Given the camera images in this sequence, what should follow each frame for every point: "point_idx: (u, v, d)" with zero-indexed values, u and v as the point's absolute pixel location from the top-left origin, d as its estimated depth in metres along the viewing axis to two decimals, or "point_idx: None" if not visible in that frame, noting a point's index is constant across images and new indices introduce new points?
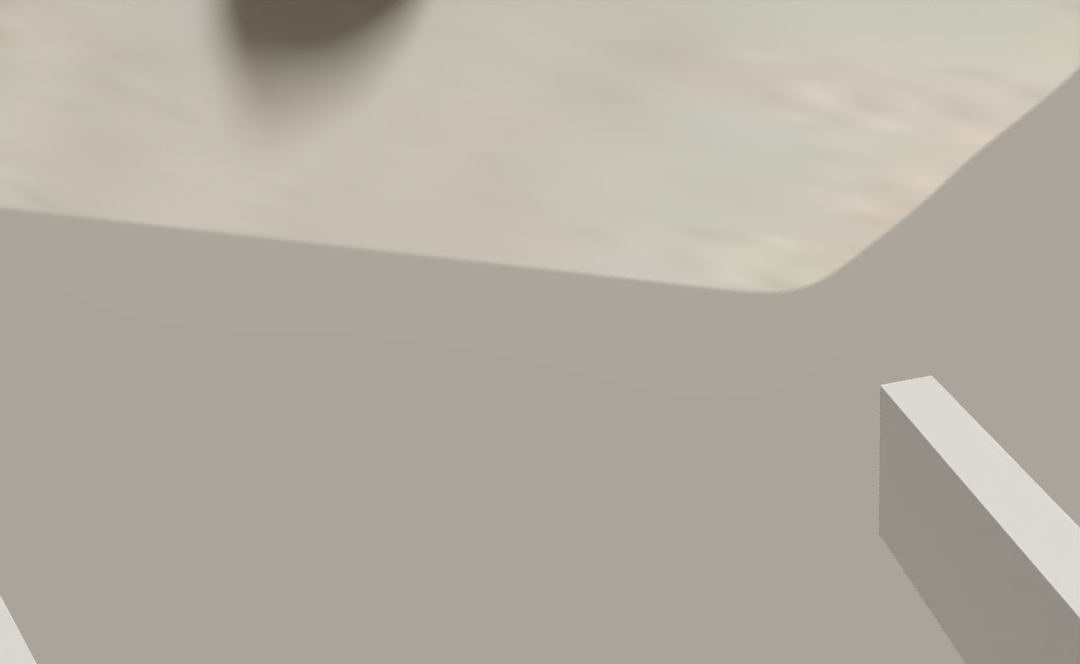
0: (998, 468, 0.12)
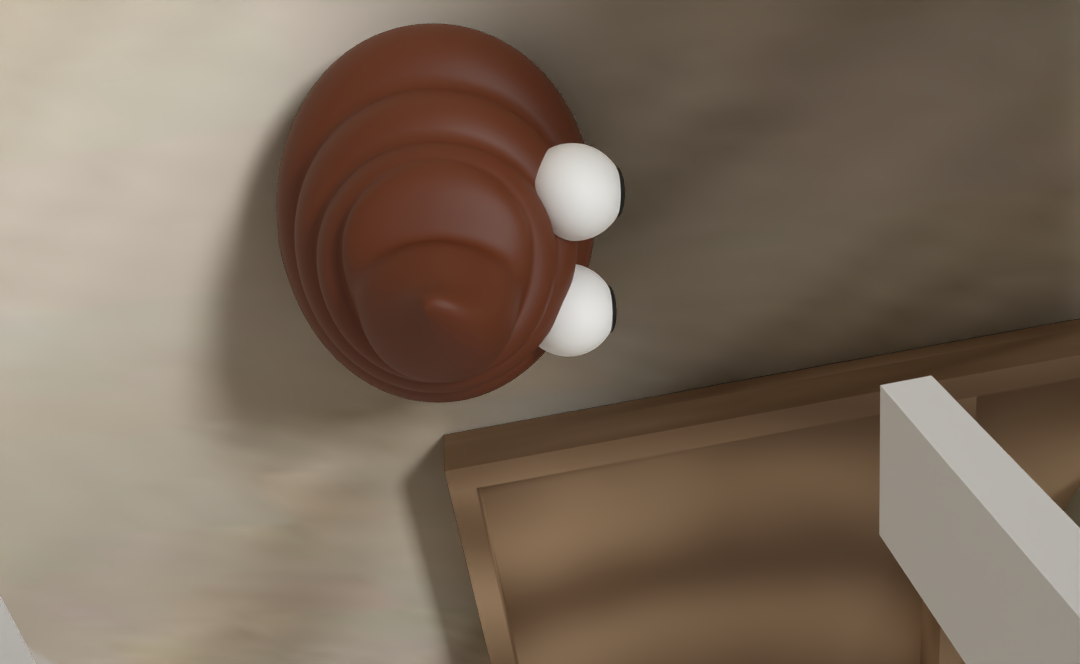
0: (998, 468, 0.12)
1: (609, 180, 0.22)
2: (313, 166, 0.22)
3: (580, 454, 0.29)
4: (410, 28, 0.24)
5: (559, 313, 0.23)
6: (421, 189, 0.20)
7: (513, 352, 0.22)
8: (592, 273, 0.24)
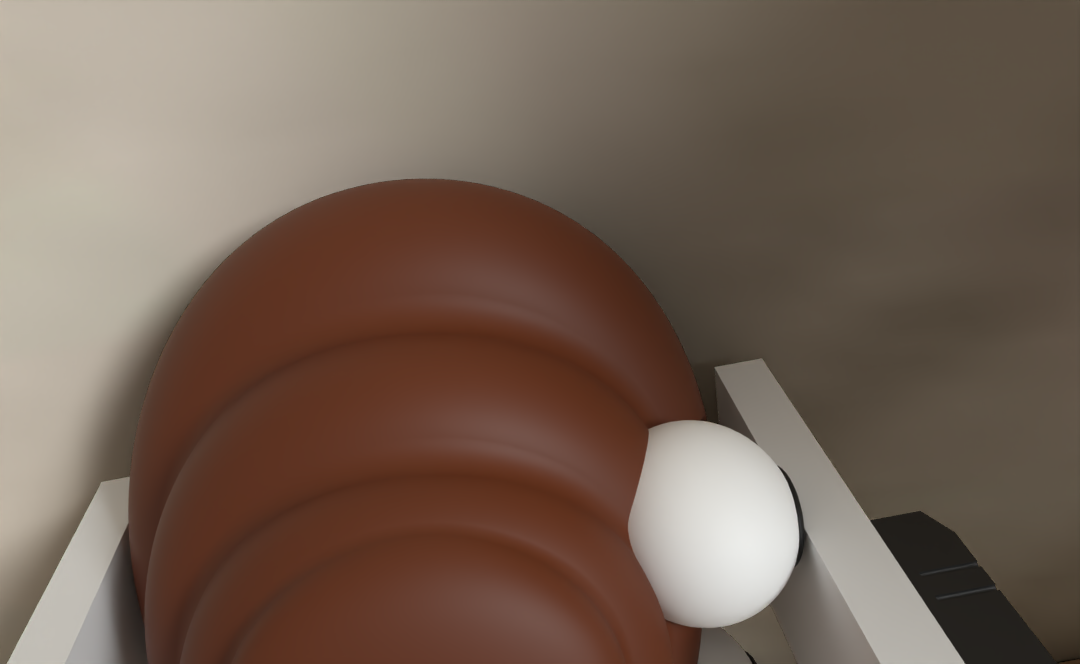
0: (796, 439, 0.13)
1: (781, 522, 0.11)
2: (175, 496, 0.11)
3: None
4: (373, 196, 0.12)
5: None
6: (390, 622, 0.09)
7: None
8: (725, 648, 0.13)
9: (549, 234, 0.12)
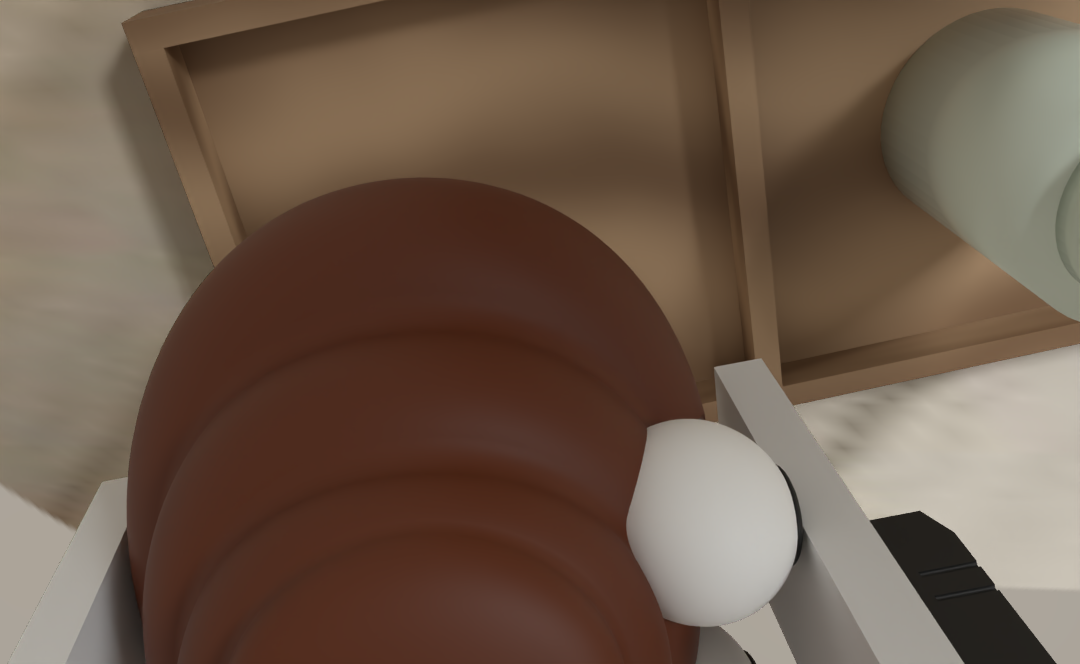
0: (795, 439, 0.13)
1: (779, 521, 0.11)
2: (173, 495, 0.11)
3: (279, 1, 0.25)
4: (371, 194, 0.12)
5: None
6: (389, 621, 0.09)
7: None
8: (723, 647, 0.13)
9: (547, 233, 0.12)
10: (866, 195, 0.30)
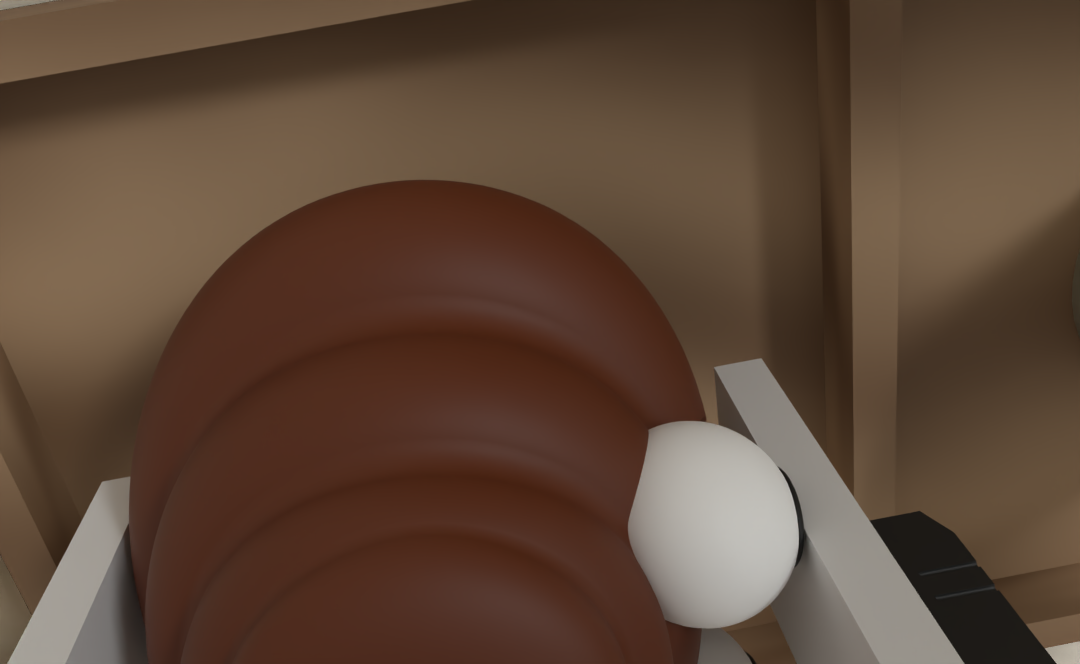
0: (795, 440, 0.13)
1: (780, 523, 0.11)
2: (176, 497, 0.11)
3: (52, 34, 0.13)
4: (373, 197, 0.12)
5: None
6: (391, 623, 0.09)
7: None
8: (725, 648, 0.13)
9: (549, 235, 0.12)
10: (1039, 365, 0.19)
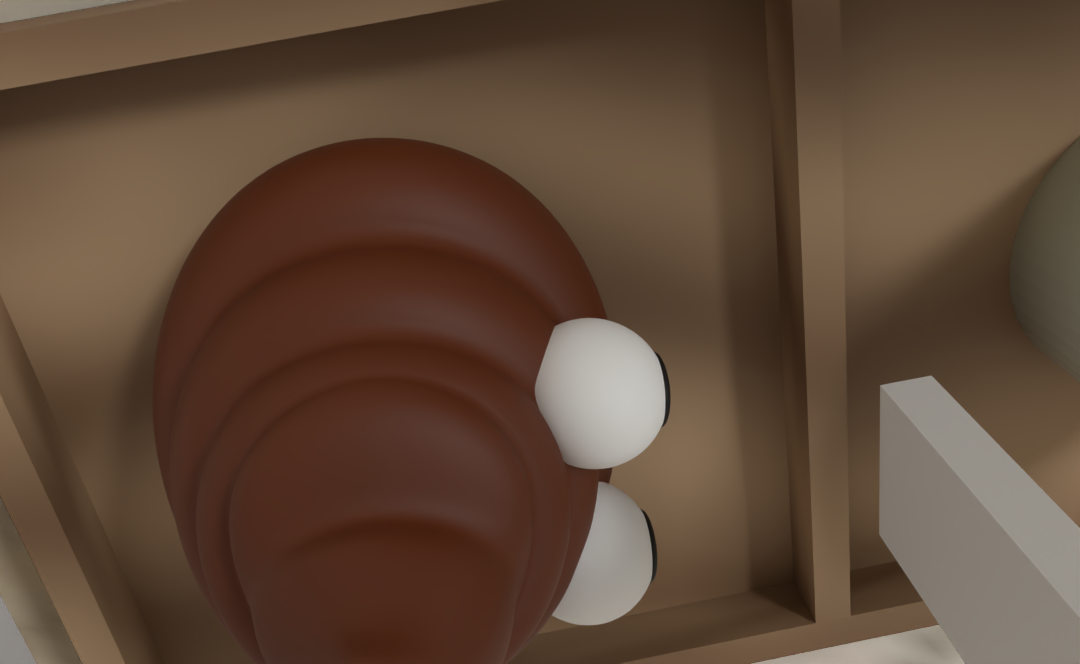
0: (998, 468, 0.12)
1: (649, 384, 0.15)
2: (193, 371, 0.15)
3: (68, 41, 0.15)
4: (342, 148, 0.16)
5: (575, 576, 0.15)
6: (353, 436, 0.13)
7: (507, 662, 0.14)
8: (620, 500, 0.16)
9: (478, 177, 0.16)
10: (981, 346, 0.21)
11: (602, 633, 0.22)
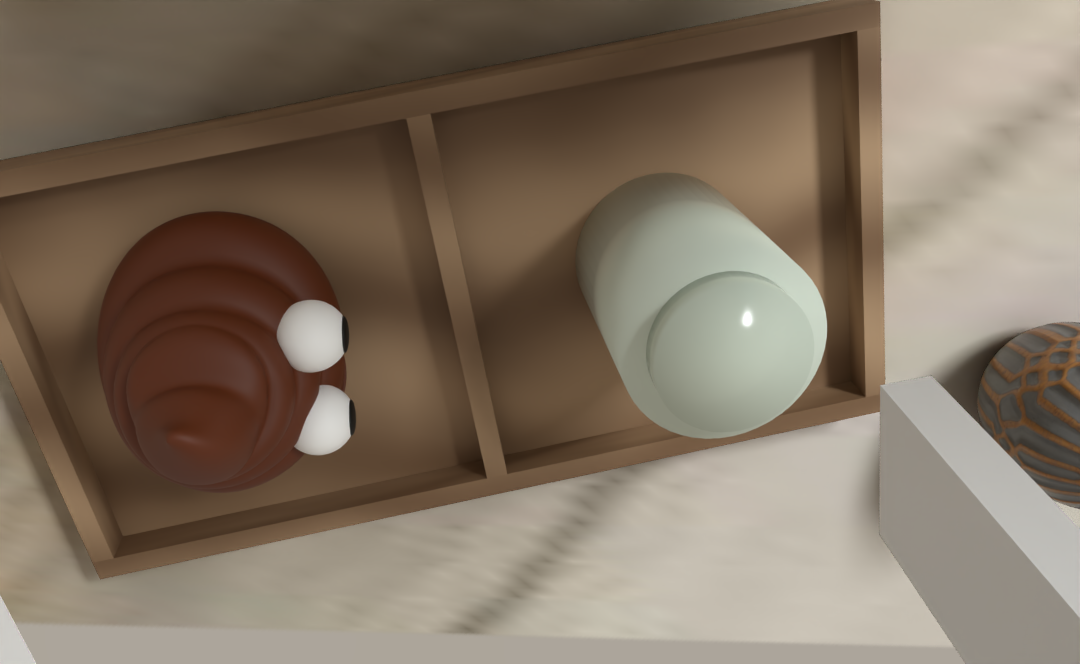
0: (998, 468, 0.12)
1: (330, 329, 0.31)
2: (113, 327, 0.31)
3: (53, 170, 0.31)
4: (189, 218, 0.32)
5: (303, 426, 0.31)
6: (179, 349, 0.29)
7: (260, 459, 0.30)
8: (334, 392, 0.32)
9: (258, 231, 0.32)
10: (569, 317, 0.37)
11: (368, 489, 0.38)
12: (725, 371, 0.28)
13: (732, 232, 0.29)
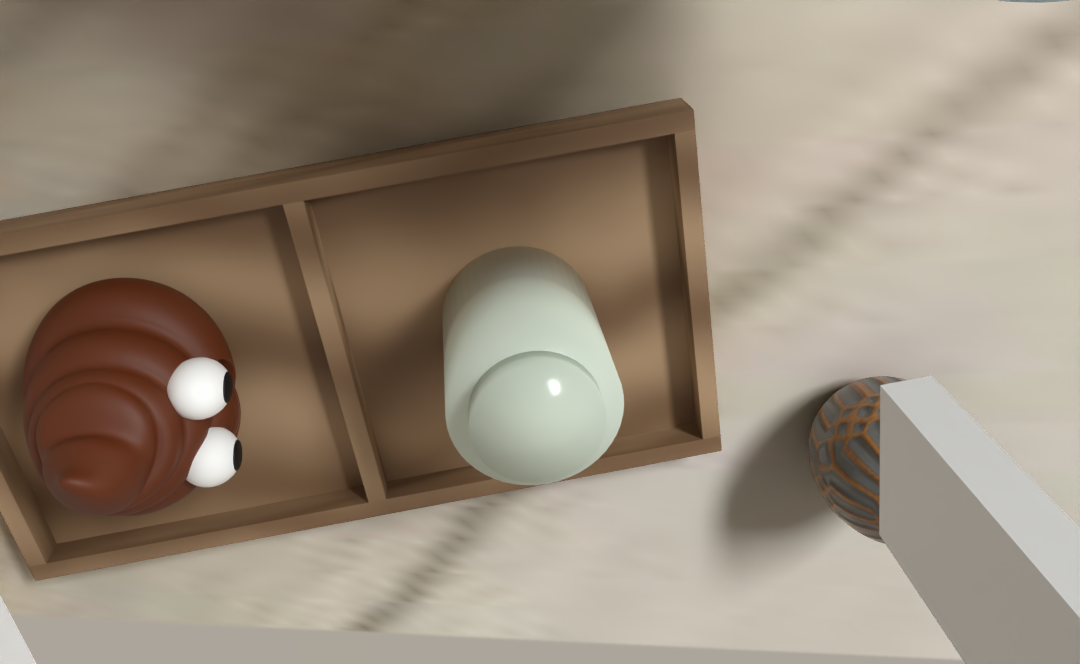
0: (998, 468, 0.12)
1: (212, 385, 0.36)
2: (31, 379, 0.36)
3: None
4: (99, 285, 0.38)
5: (191, 464, 0.37)
6: (78, 404, 0.34)
7: (151, 493, 0.36)
8: (221, 434, 0.38)
9: (157, 297, 0.38)
10: (439, 366, 0.42)
11: (268, 508, 0.44)
12: (531, 434, 0.34)
13: (543, 315, 0.34)
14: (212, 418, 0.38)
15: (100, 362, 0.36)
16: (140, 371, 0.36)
